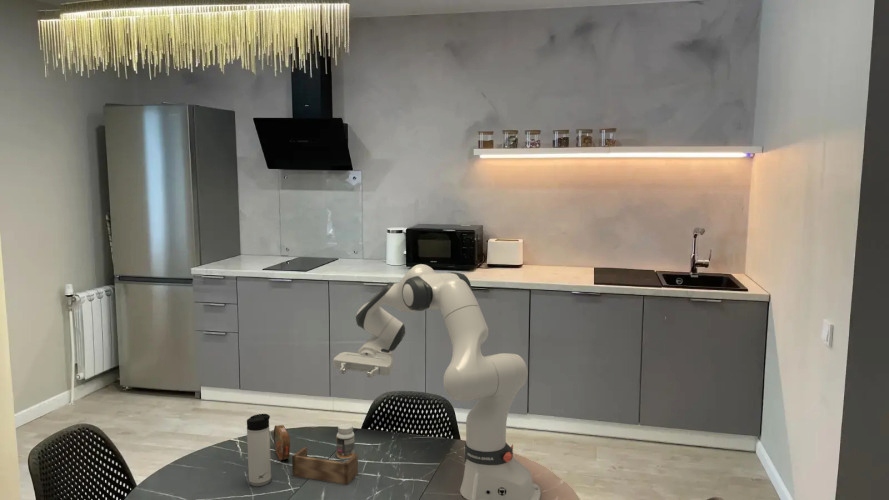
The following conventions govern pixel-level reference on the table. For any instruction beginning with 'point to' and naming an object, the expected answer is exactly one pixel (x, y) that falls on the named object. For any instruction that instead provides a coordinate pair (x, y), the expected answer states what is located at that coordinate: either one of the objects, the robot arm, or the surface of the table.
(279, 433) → the tin
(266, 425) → the travel mug
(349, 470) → the box
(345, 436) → the pill bottle
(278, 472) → the table surface
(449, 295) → the robot arm
